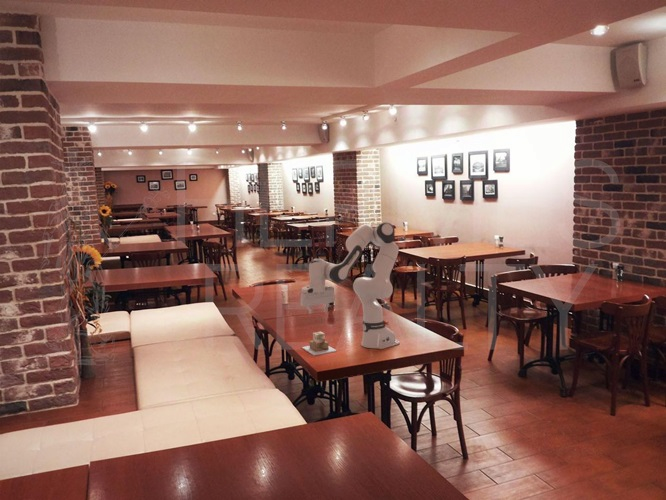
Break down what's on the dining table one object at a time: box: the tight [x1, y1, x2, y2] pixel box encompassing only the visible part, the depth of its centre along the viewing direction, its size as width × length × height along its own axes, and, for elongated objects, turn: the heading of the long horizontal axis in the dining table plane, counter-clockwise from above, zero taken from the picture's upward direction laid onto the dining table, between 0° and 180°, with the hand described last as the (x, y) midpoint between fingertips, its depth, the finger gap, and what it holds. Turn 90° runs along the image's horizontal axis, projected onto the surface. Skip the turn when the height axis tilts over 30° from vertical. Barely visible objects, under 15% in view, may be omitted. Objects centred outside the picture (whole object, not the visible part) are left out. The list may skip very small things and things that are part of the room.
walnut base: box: [308, 340, 329, 352], centre depth 298 cm, size 8×8×4 cm
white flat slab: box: [301, 345, 338, 357], centre depth 298 cm, size 14×16×1 cm
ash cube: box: [312, 331, 326, 344], centre depth 297 cm, size 5×5×5 cm
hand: (318, 312), depth 296 cm, fingers open, 8 cm apart
